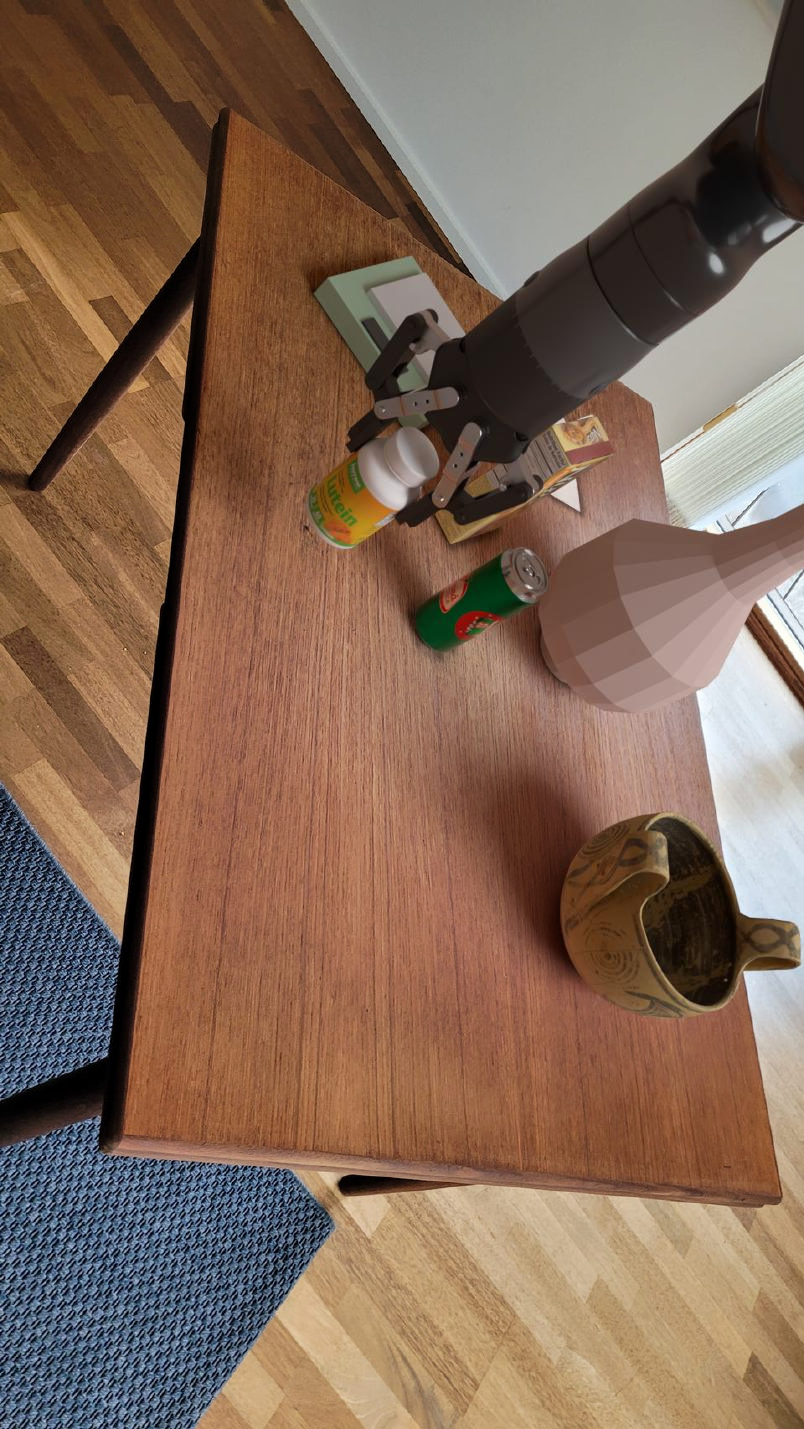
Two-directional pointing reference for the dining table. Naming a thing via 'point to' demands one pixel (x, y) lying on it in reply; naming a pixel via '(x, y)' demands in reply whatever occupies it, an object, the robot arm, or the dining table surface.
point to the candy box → (538, 471)
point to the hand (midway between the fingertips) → (378, 481)
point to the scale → (386, 316)
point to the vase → (659, 607)
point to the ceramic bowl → (664, 920)
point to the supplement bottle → (371, 487)
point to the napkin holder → (569, 486)
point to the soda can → (481, 599)
